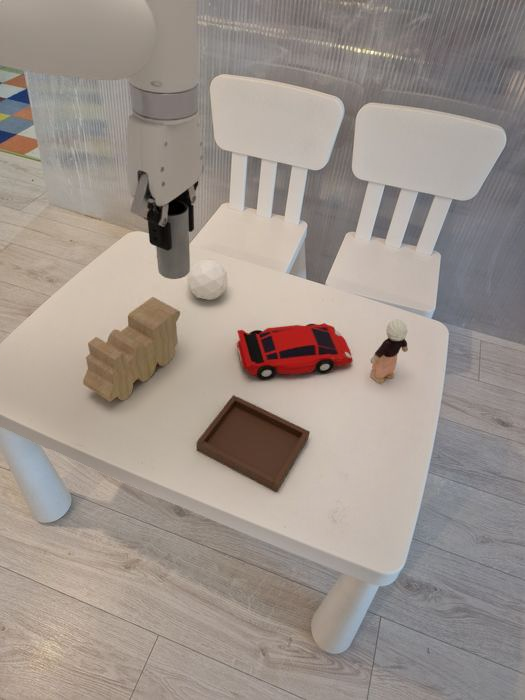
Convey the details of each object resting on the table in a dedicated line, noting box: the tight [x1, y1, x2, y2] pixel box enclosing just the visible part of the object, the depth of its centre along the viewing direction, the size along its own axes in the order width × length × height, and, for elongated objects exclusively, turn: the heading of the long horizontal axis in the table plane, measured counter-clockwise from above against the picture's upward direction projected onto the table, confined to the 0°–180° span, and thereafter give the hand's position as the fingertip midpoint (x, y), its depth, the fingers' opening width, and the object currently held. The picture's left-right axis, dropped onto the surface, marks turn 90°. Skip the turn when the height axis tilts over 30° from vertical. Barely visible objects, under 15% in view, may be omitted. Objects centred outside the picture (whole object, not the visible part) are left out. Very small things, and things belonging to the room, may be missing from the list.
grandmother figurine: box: [369, 319, 409, 384], centre depth 87 cm, size 8×4×13 cm, turn 132°
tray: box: [195, 394, 311, 493], centre depth 79 cm, size 14×11×2 cm
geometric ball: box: [187, 259, 229, 301], centre depth 101 cm, size 8×8×8 cm
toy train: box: [82, 296, 181, 402], centre depth 85 cm, size 6×17×10 cm, turn 146°
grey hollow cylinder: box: [153, 198, 191, 280], centre depth 72 cm, size 4×4×10 cm
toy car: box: [236, 322, 354, 381], centre depth 92 cm, size 10×20×5 cm, turn 106°
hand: (172, 235), depth 72 cm, fingers closed on grey hollow cylinder, 4 cm apart
